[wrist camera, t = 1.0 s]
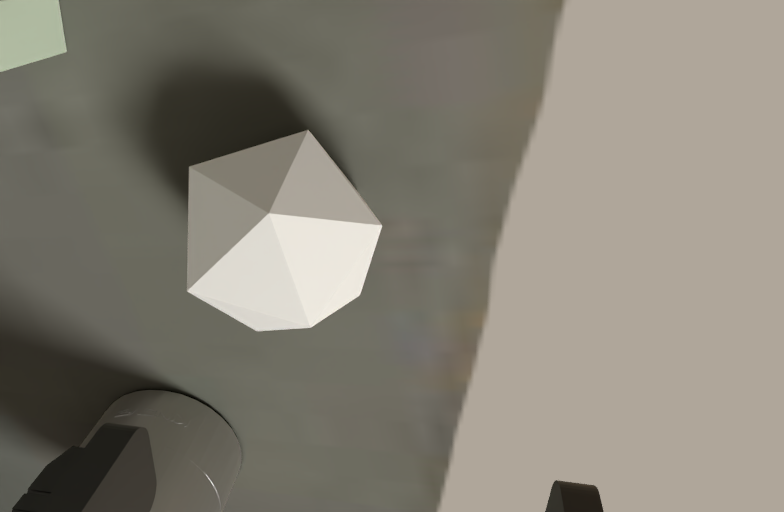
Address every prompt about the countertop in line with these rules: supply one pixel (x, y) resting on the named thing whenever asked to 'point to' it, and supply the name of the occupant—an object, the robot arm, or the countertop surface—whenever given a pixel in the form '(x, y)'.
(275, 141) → the die
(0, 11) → the mint green side table
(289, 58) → the countertop surface
